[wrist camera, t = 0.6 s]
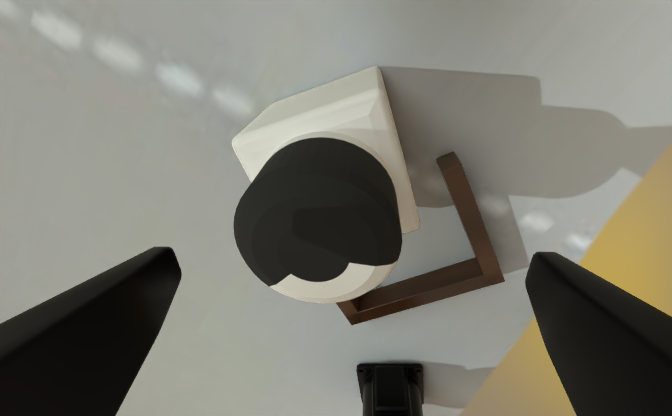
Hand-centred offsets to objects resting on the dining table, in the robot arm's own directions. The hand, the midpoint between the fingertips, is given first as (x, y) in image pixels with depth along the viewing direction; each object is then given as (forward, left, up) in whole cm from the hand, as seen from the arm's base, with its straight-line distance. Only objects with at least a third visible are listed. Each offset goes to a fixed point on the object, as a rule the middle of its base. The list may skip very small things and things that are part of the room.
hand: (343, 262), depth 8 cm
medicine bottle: (-1, +1, -14) cm, 15 cm away
